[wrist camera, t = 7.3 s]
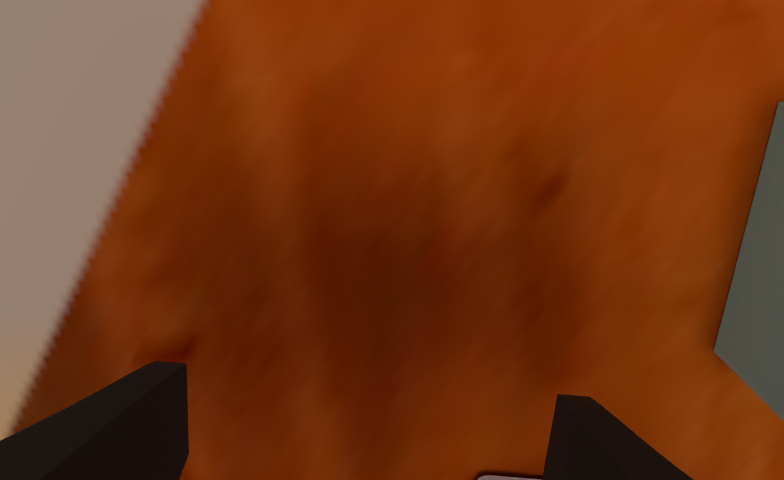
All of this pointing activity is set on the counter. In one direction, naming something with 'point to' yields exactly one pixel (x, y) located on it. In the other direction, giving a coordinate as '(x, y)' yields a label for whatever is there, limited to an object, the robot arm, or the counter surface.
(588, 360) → the counter surface
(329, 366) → the counter surface
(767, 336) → the teal open square box
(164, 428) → the robot arm
